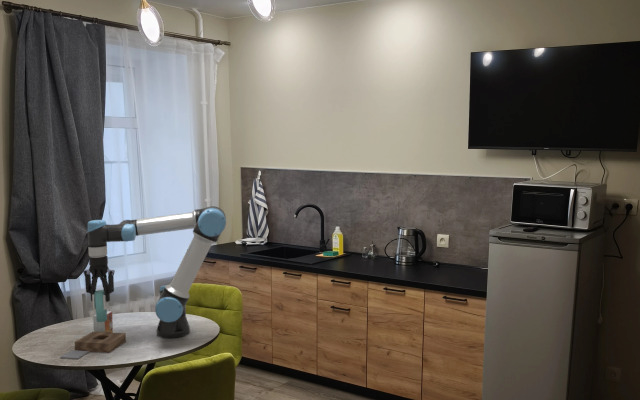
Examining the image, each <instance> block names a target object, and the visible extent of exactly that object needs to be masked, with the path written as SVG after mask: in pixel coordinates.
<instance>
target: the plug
mask: <svg viewBox="0 0 640 400" xmlns="http://www.w3.org/2000/svg"><path fill="white" fill-rule="evenodd" d="M104 294H105V293H104V289H100V290H99V289H98V290H96V291H95V306H96V309H95V315H96V320H97V322H104V321H107V311H108V309H106V310H104V304H103V295H104Z"/></svg>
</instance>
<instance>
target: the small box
mask: <svg viewBox="0 0 640 400" xmlns="http://www.w3.org/2000/svg"><path fill="white" fill-rule="evenodd" d="M92 319H93V321H92V322H93V326H92V327H93V332H112V333H114V330H113V329H114V328H113V326H114V325H113V311H111V310H110V311H109V310H107V321H104V322H97V320H96V314H94V315H93V317H92Z"/></svg>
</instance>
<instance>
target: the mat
mask: <svg viewBox="0 0 640 400" xmlns="http://www.w3.org/2000/svg"><path fill="white" fill-rule="evenodd" d="M89 353H90V352H89V351H76V350H75V349H74V350H73V349H71V350H69V351H68V352H65V353H63V355H61V356H59V359H63V360H65V359H66V360H79V359H81V358H83V357H85V356H86V355H88V354H89Z"/></svg>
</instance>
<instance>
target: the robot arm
mask: <svg viewBox="0 0 640 400" xmlns="http://www.w3.org/2000/svg"><path fill="white" fill-rule="evenodd" d="M226 225H227V219H226V213H225V212H224V210H223V209H221V208H220V207H219V206H207V207H203V208H199V209H198V208H197V209H193V211H192V212H184V213H176V214H169V215H161V216H152V217H145V218H137V219H125V220H122V221H121V222H120V223H117V224H107V221H106V220H104V219H94V220H89V221H88V222H87V242H88V243H87V244H88V247H87V248H88V256H89V258H88V264H89V265H88V266H89V268H88V269H85V270H83V273H82V274H83V275H84V283H85V293H87V294H90V301H91V302H92V310H96V306H95V291H97V284H98V279H100V281H101V285H102V288H103V289H102V290H104V293H105V294H104V295H103V304H104V310H106V309H107V310H108V309H109V302H110V301H111V294H112V293H114V292H115V289H114V288H115V284H114V283H115V279H114V275H115V270H114V269H109V266H108V263H109V259H108V243H115V242H116V243H117V242H118V243H119V242H121V243H122V242H126V243H127V242H134V241H135V240H136V237H138V236H145V235H153V234H160V233H168V232H176V231H185V230H192V234H193V238H192V240H191V242H190V244H189V246H188V248H187V250H186V251H185V253H184V256H183V258H182V260H181V261H180V264H179V266H178V267H177V270H176V271H175V274H174V275H173V279H172V280H171V282H170V283H169V284H164V285H160V286H159V298H158V300H157V302H156V303H155V306H154V310H155V315H156V317H157V318H158V319H159V322H158V324H157V328H156V336H157V337H160V338H163V339H176V338H181V337H184V336H187V335H189V334H190V333H191V332H190V331H191V327H190V324H189V320H188V317H187V316H186V315H187V312H186V311H187V307H186V305H187V303H188V301H189V299H190V293H189V291H190V289H191V287H192V285H193V283H194V281H195V280H196V278H197V276H198V274H199V271H200V269H201V267H202V265H203V262H204V261H205V259H206V257H207V255H208V254H209V253H208V252H209V251H210V248H211V247H212V245H213V244H216V243H218V240H219V238H220V236H221V234H222V233H223V231H224V230H225V228H226ZM189 332H190V333H189ZM188 333H189V334H188Z"/></svg>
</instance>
